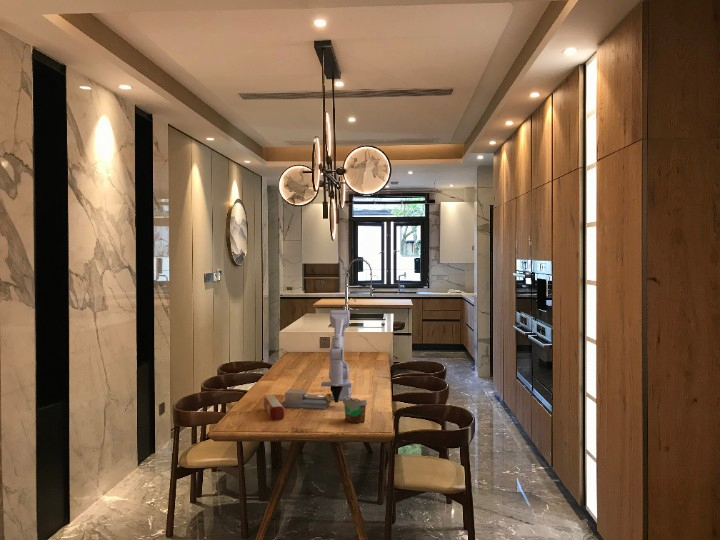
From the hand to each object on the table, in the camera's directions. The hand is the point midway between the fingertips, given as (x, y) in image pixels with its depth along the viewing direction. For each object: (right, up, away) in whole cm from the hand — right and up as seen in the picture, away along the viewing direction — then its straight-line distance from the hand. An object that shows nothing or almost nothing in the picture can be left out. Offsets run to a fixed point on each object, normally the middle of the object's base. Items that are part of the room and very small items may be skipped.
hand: (336, 402), depth 263 cm
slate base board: (-15, -2, +3) cm, 15 cm away
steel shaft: (-11, -1, +2) cm, 11 cm away
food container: (+8, -3, -25) cm, 26 cm away
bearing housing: (-20, -2, +4) cm, 20 cm away
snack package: (-28, -3, -13) cm, 31 cm away
